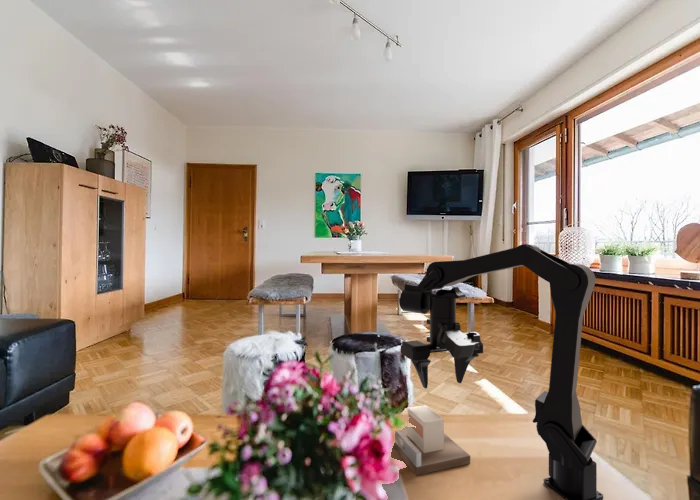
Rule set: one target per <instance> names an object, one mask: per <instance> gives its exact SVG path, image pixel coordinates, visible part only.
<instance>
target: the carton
mask: <svg viewBox="0 0 700 500" xmlns="http://www.w3.org/2000/svg"><path fill="white" fill-rule="evenodd" d="M408 417H410V418H409V420H408V419H407V422H408V421H409V423H411V424H412V425H414V426H416V428H415V427H408V436H409V437H410V438H411V440H412V441H413V442H414V443H415V444H416V445H417V446H418V447H419V448H420V449H421V450H422V451H423V452H424V453H427V452H432V451H437V450H443V449H444V434H445V424H444V423H445V419H444V418H442V417H441V416H440V414H437V413H436V412H435V411H434V410H433V409H431V408H430V407H429V406H428V405H426V404H423V405H418V406H416V405H415V406H410V407H407V418H408Z"/></svg>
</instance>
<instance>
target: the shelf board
mask: <svg viewBox="0 0 700 500" xmlns="http://www.w3.org/2000/svg"><path fill="white" fill-rule="evenodd" d="M404 427H405V428H403V429H402V430H398V431H395V443H394V446H392V447H393V448H394V450H395V451H396V452H397V454H398V455H399V456H400V458H402V460H403V461H404V463H406V465H407V466H408V467H409V468H410V469H411V471H412V472H413V473H414V474H415V476H419V475H424V474H428V473H435V472H437V471H442V470H446V469H451V468H454V467H455V468H456V467H460V466H464V465H470V464H471V455H470V454H469V453H468V452H467V451H465V449H464V448H462V447H461V446H459V444H457V443H456V442H455V441H454V440H452V439H451V437H449V436H448V435H447V434H446V433H444V449H443V450H437V451H432V452H427V453H424V452H423V451H422V450H421V449H420V448H419V447H418V446H417V445H416V444H415V443H414V442H413V441H412V440H411V438H410V437H409V436H408V427H407V426H404Z"/></svg>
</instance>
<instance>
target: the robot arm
mask: <svg viewBox="0 0 700 500" xmlns="http://www.w3.org/2000/svg"><path fill="white" fill-rule="evenodd" d="M523 266H524V267H525V268H527V269H528V270H530V271H531V272H532V273H533V274H535V275H536V276H538V277H539V278H541V279H542V280H544V281H546V282H548V283H549V289H550V298H551V301H552V304H553V309H554V313H555V316H554V317H555V318H554V327H553V328H554V329H553V340H552V349H551V359H550V360H551V361H550V362H551V363H550V364H551V365H550V372H549V385H548V386H549V387H548V391H546V390H544V391H543V392H542V393H541V394H540V395H539V396H538V397H537V398H536V399H535V401H534V409H535V414H534V418H533V420H532V423H534V424H536V432H537V434H538V436H539V437H540V439H541V440H542V441H544V443H545V445H546V448H547V452H548V477H545V478H543V483H544V484H545V485H546V486H548V487H549V488H550V489H552V490H554V491H555V492H556V493H557V494H559V496H561V497H563V498H564V499H565V500H603V499H604V494H603V493H601V492H600V491H599V490H597V489H598V488H597V487H598V486H597V485H598V484H597V483H598V482H597V480H598V477H597V465H598V464H597V462H596V461H595V460H593V458H592V457H591V456H592V453H593V452H594V448H596V444H597V439H596V438H595V437H594V436H593V435H592V434H591V432H590V431H589V430H588V429H587V428H586V427H585V426H584V424H583V422H582V420H583V419H582V414H581V413H582V411H581V406H580V401H579V398H578V395H577V386H578V375H579V365H580V356H581V355H580V354H581V353H580V352H581V345H582V343H581V342H582V332H583V322H584V321H583V320H584V316H585V313H586V312H585V311H586V310H587V307H588V305H589V303H590V300H591V297H592V294H593V292H594V287H595V285H596V275H595V273H594V272H593V270H592V269H591V268H589V267H588V266H587V265H585V264H582V263H570V262H568V261H566V260H564V259H562V258H560V257H557V256H556V255H554V254H552V253H549V252H547V251H545V250H543V249H541V248H540V247H539V246H537V245H534V244H528V243H525V244H523V243H522V244H520V245H518V246H516V247H512V248H508V249H504V250H500V251H496V252H492V253H488V254H483V255H480V256H475V257H471V258H467V259H462V260H445V261H444V260H443V261H442V260H441V261H434V262H431V263H430V264H428V267H427V268H426V270H425V271H426V273H425V275H424V276H423V277H422V279H421V281H420V282H419V284H413V283H406V284H404V289H403V290H402V292H401V294H400V296H399V297H398V298H399V299H398V302H399V303H398V304H399V307H400V309H401V310H402V311H403V312H409V313H416V314H427V313H428V312H429V318H426V324H427V325H429V336H426V342H428V344H427V343H423V342H422V341H419V340H407V341H403V343H402V344H401V346H400V354H401V355H403V356H404V357H406V358H407V359H409V360H411V363H412V365H413V366H414V368H415V371H416V373H417V375H418V379H419V380H420V382H421V384H422V387H423V388H424V389H428V385H429V384H428V383H429V379H428V378H429V376H428V375H429V365H430V364H431V362H432V360H431V359H429V357H430V356H431V353H432V354H433V353H443V352H448V353H450V356H451V357H452V358H453V361H454V371H455V372H454V373H455V379H456V383H458V384H462V382H463V380H464V378H465V374H466V371H467V368H468V367H469V364H470V363H471V362H472V360H474V359H476V358H478V357H479V355H480V354H484V343H483V342H482V341H481V340H482V339H481V335H480V333H478V332H477V331H470V332H462V329H461V324H460V322H458V321H457V320H456V319H457V299H464V298H466V294H465V293H464V292H463V291H461V289H460V288H459V287H458V286H455V285H458V284H460V283H462V282H465V281H467V280H469V279H471V278H473V277H475V276H480V275H486V274H490V273H494V272H495V273H496V272H499V271H500V272H501V271H504V270H509V269H513V268H519V267H523ZM452 286H454V287H452ZM445 287H452V288H451V289H445ZM435 290H437V291H436V292H433V291H435Z"/></svg>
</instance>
